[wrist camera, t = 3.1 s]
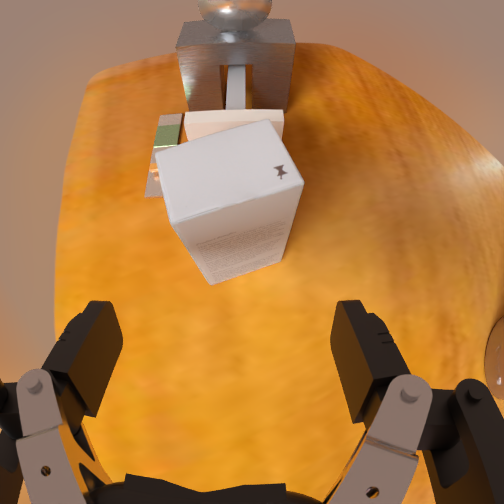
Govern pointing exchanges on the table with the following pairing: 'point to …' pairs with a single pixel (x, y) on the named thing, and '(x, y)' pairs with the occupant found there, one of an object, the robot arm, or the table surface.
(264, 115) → the gauge plunger
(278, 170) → the skincare box
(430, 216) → the table surface
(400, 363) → the robot arm
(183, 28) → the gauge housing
